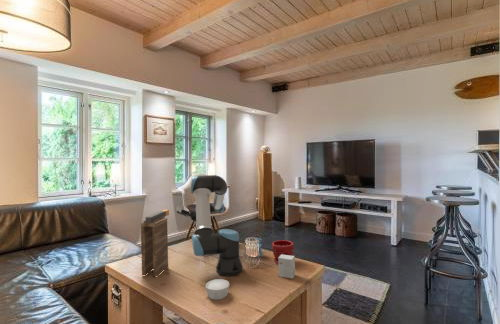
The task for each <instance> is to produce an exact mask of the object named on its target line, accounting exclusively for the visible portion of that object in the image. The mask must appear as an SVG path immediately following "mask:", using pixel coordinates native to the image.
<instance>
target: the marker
mask: <svg viewBox="0 0 500 324" xmlns="http://www.w3.org/2000/svg"><path fill="white" fill-rule="evenodd" d="M169 215H170V210H169V209H162V210H160V211H158V212H155V213H153V214H150V215H148V216H145V220H146V223H152V221H154V220H156V219H158V218H160V217H162V216H165V217H167V216H169Z"/></svg>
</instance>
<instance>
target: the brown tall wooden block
mask: <svg viewBox="0 0 500 324" xmlns="http://www.w3.org/2000/svg"><path fill="white" fill-rule="evenodd" d="M168 233H169V232H168V217H166V216H162V217H160V218H158V219H156V220H154V221H152V223H146V219H144V220H143V221H142V222H140V237H141V238H140V240H141V241H140V242H141V243H140V244H141V246H140V247H141V248H140V249H141V251H140V252H141V276H142V275H146V274H147V273H149V272H150V271H151V270H152V269H154V270H153V277H154V276H158V275H159V274H160V273H161V272H162V271H163V270H165V269H166V268H167V267H168V268H169V249H168V248H169V247H168V246H169V245H168V244H169V241H168V235H169V234H168ZM168 268H167V269H168ZM167 269H166V270H167ZM166 270H165V271H166ZM149 274H150V273H149ZM159 276H160V275H159ZM159 276H158V277H159Z"/></svg>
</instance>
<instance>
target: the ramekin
mask: <svg viewBox="0 0 500 324" xmlns="http://www.w3.org/2000/svg"><path fill="white" fill-rule="evenodd" d="M229 288H230V282H229V281H228V280H226V279H223V278H217V279H215V278H214V279H212V280H209V281H208V282H206V284H205V289H206V294H207V297H208V298H209V299H211V300H214V301H215V300H216V301H219V300H223V299H225V298H226V297H227V296H228V294H229Z"/></svg>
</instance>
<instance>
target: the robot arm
mask: <svg viewBox="0 0 500 324" xmlns="http://www.w3.org/2000/svg"><path fill="white" fill-rule="evenodd" d="M190 182H191V183H190V193H191V194H192V195H193V197H194V198H195V211H194V210H193V211H190V210H189V211H188V210H185V209H183V208H181V207H180V206H179V205H177V206H176V209H175V210H176V213H177V214H179V215H181V216H183V217H187V218H188V217H190V219H191V221H193V222H194V223H195V224H196V229H195V230H194V232H193V234H192V235H191V243H192V250H193V251H192V252H193V254H194V255H195V256H196V257H205V256H211V255H218V261H217V262H216V263H217V264H216V269H215V270H216V274H218V275H219V276H223V277H233V276H237V275H239V274H241V273H242V272H243V264H242V260H241V258H240V235H239V232H238V231H236V230H234V229H230V228H223V229H219V230H218V231H217V232H215V230H214V228H212V219H211V217H212V216H211V214H218V213H219V214H220V213H224V212H225V203H224V200H225V195H226V193H227V191H228V184H227V182H226V180H225V179H224V178H223V177H221V176H219V175H216V174H214V175H213V174H212V175H211V174H210V175H194V176H192V178H191V181H190ZM212 193H213V198H212V199H213V200H212V203H210V196H211V195H212Z"/></svg>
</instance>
